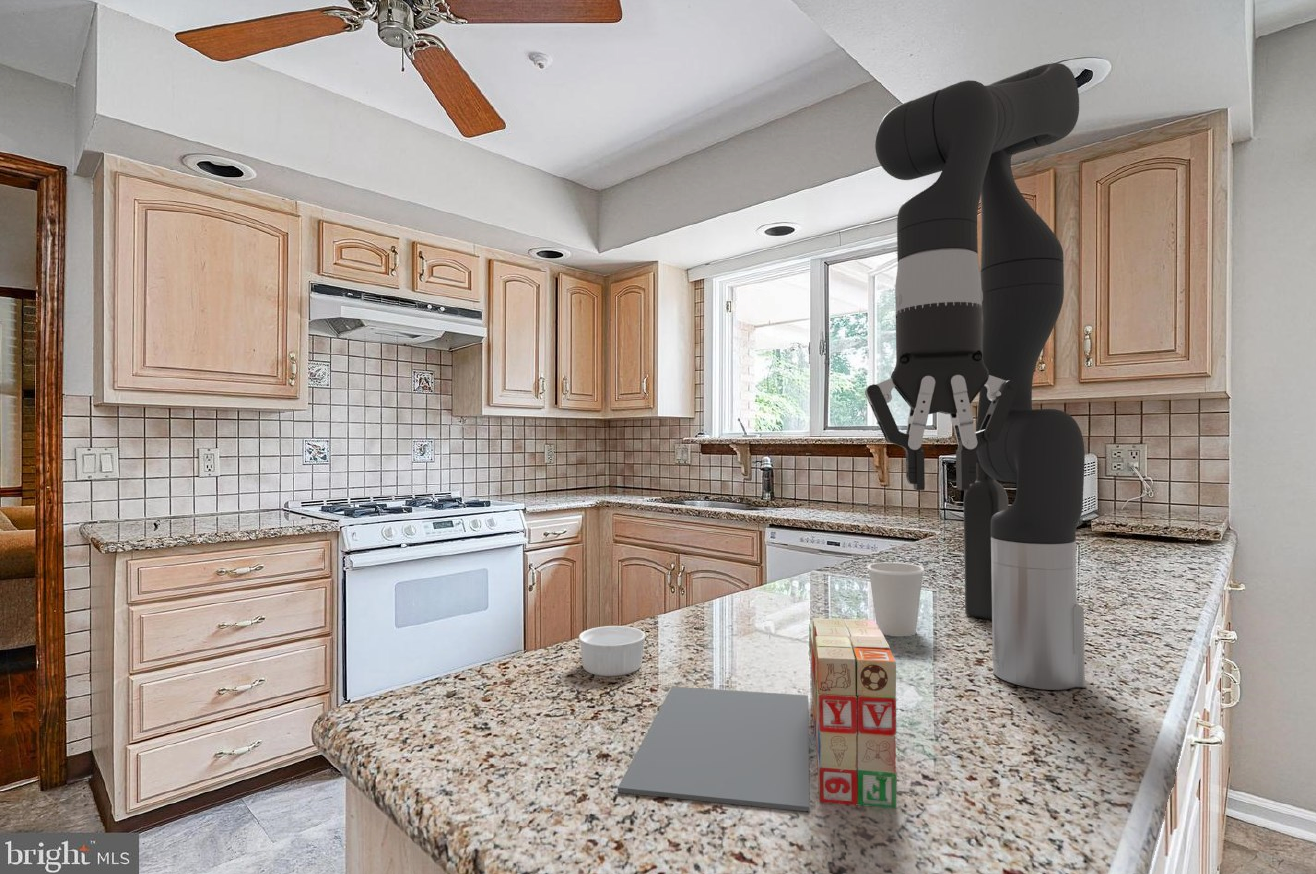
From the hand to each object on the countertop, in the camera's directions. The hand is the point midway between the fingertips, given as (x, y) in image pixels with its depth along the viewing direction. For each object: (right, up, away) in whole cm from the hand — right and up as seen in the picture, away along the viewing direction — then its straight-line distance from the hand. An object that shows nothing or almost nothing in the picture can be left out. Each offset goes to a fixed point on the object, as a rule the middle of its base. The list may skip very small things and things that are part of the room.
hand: (940, 488), depth 63 cm
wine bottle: (+28, -25, +49) cm, 62 cm away
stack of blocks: (-8, -26, +2) cm, 27 cm away
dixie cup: (+10, -25, +41) cm, 49 cm away
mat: (-20, -25, +4) cm, 32 cm away
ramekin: (-33, -26, +27) cm, 50 cm away
